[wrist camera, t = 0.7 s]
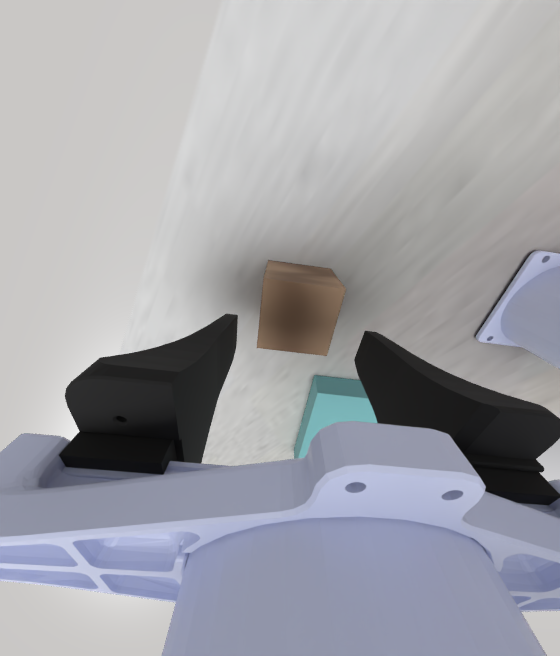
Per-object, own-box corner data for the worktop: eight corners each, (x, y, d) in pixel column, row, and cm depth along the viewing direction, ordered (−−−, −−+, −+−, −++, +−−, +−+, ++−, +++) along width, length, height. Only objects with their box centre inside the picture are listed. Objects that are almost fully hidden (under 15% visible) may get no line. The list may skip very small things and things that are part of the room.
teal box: (430, 385, 24) (448, 407, 21) (386, 455, 30) (396, 478, 28) (313, 371, 23) (317, 392, 21) (293, 446, 30) (294, 469, 27)
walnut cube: (330, 268, 18) (346, 289, 13) (317, 323, 20) (326, 355, 16) (268, 260, 17) (263, 278, 13) (262, 316, 20) (256, 347, 15)
